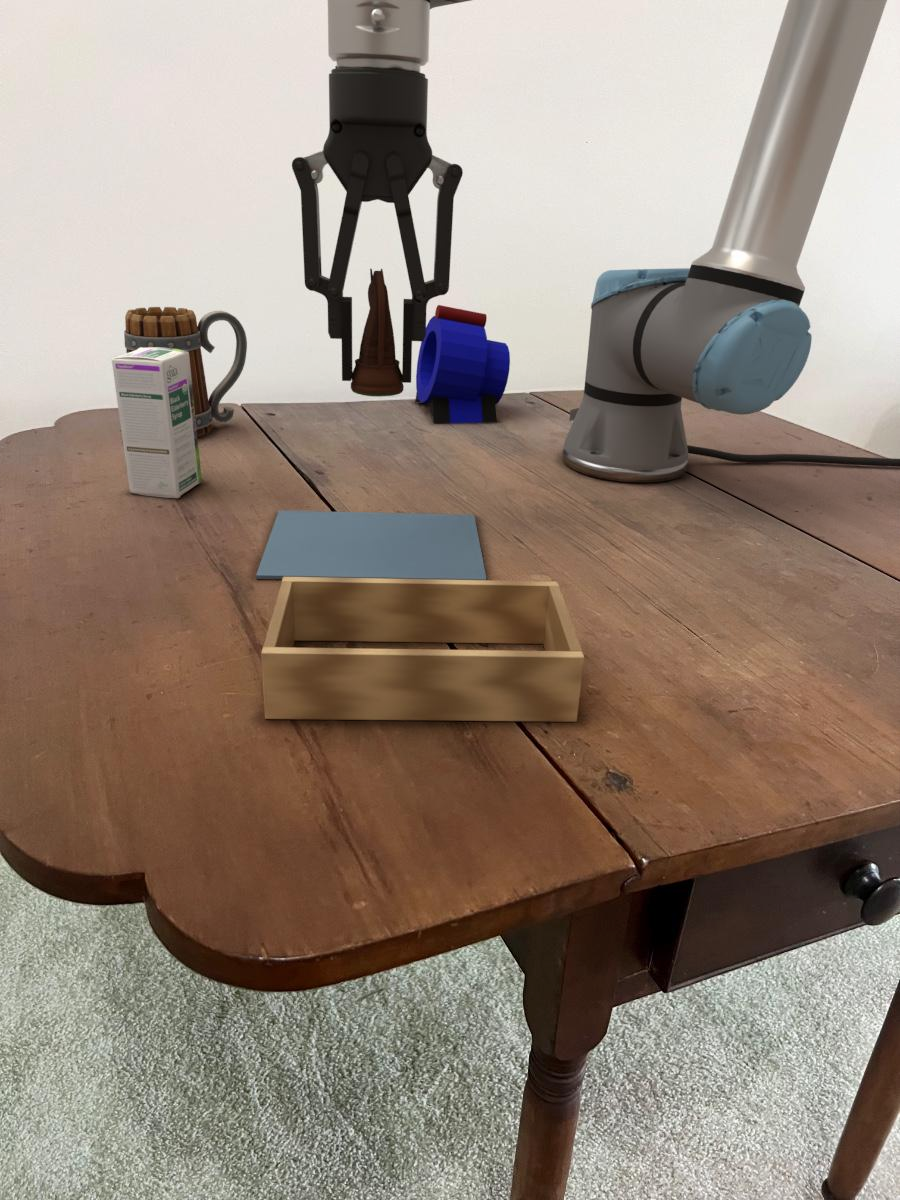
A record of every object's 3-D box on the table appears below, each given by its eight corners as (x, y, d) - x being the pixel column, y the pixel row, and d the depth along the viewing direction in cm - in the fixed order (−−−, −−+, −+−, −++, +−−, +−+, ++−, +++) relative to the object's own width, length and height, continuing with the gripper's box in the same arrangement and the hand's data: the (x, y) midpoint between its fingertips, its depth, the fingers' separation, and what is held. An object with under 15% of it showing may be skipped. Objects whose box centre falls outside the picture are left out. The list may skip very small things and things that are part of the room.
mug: (137, 446, 112) (123, 320, 106) (121, 425, 121) (108, 306, 114) (261, 435, 119) (255, 315, 112) (238, 415, 127) (232, 302, 121)
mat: (474, 518, 95) (474, 514, 95) (486, 583, 80) (486, 579, 80) (278, 513, 94) (278, 510, 93) (256, 579, 79) (255, 575, 79)
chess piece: (398, 384, 83) (400, 266, 78) (408, 397, 78) (411, 274, 74) (347, 384, 82) (346, 266, 77) (354, 398, 77) (354, 273, 73)
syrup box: (178, 499, 96) (165, 359, 90) (127, 494, 97) (110, 354, 91) (202, 483, 101) (191, 349, 95) (153, 477, 102) (139, 344, 96)
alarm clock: (410, 402, 138) (413, 298, 131) (489, 400, 141) (495, 298, 134) (428, 423, 127) (432, 311, 121) (513, 421, 130) (521, 312, 124)
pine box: (551, 639, 72) (557, 581, 69) (576, 722, 61) (584, 656, 59) (285, 635, 70) (282, 576, 68) (264, 719, 60) (260, 652, 58)
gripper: (254, 57, 65) (269, 385, 76) (498, 69, 66) (480, 391, 77) (268, 66, 72) (280, 366, 82) (489, 77, 73) (474, 372, 83)
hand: (376, 377), depth 79 cm, fingers closed on chess piece, 4 cm apart
